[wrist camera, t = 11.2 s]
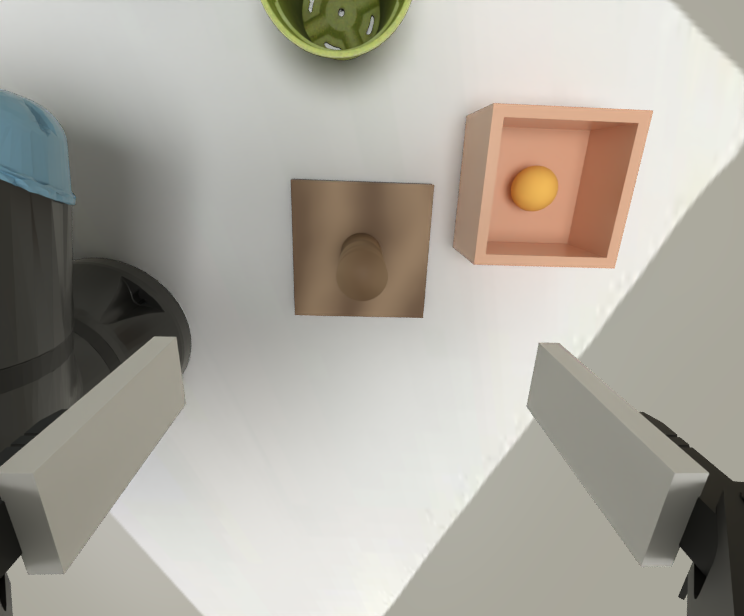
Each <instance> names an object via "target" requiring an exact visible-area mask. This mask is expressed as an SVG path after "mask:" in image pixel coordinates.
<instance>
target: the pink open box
mask: <svg viewBox="0 0 744 616" xmlns="http://www.w3.org/2000/svg"><path fill="white" fill-rule="evenodd" d="M652 114H653V111H651V110H629V109H608V108H586V107H564V106H542V105H521V104H499V103H493V104H491V105H489V106H487V107H485V108H483V109H481V110H478V111H476V112H474V113H472V114H470V115H468V116H467V117H466V127H465V137H464V146H463V156H462V165H461V175H460V184H459V194H458V204H457V213H456V223H455V232H454V242H453V248H455V249H456V250H457V251H458V252H459V253H461V254H462V255H463V256H464V257H465V258H467V259H468V260H469V261H470V262H471V263H473V264H474V265H509V266H546V267H582V268H615V264H616V260H617V256H618V252H619V248H620V244H621V240H622V236H623V232H624V227H625V223H626V219H627V215H628V211H629V207H630V203H631V199H632V195H633V191H634V187H635V183H636V179H637V175H638V171H639V166H640V162H641V158H642V154H643V150H644V146H645V142H646V138H647V134H648V130H649V126H650V122H651V118H652ZM530 166H544V167H546V168H548V169H550V170H551V171H552V172H553V173H554V174H555V176H556V178H557V180H558V192H557V195H556V197H555V199H554V200H553V201H552V203H551V204H550V205H548V206H547V207H545V208H544V209H542V210H539V211H526V210H523V209H521V208H519V207H518V206H517V205H516V204H515V203H514V201H513V199H512V196H511V186H512V182H513V180H514V179H515V177H516V176H517V174H518V173H519V172H521V171H522V170H524V169H525V168H527V167H530Z"/></svg>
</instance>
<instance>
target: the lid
mask: <svg viewBox="0 0 744 616" xmlns="http://www.w3.org/2000/svg"><path fill="white" fill-rule="evenodd" d="M433 192H434V185H430V184H403V183H375V182H348V181H320V180H291V201H292V234H293V266H294V298H295V315H316V316H363V317H410V318H423V311H424V299H425V287H426V275H427V263H428V251H429V240H430V228H431V216H432V204H433Z"/></svg>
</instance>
